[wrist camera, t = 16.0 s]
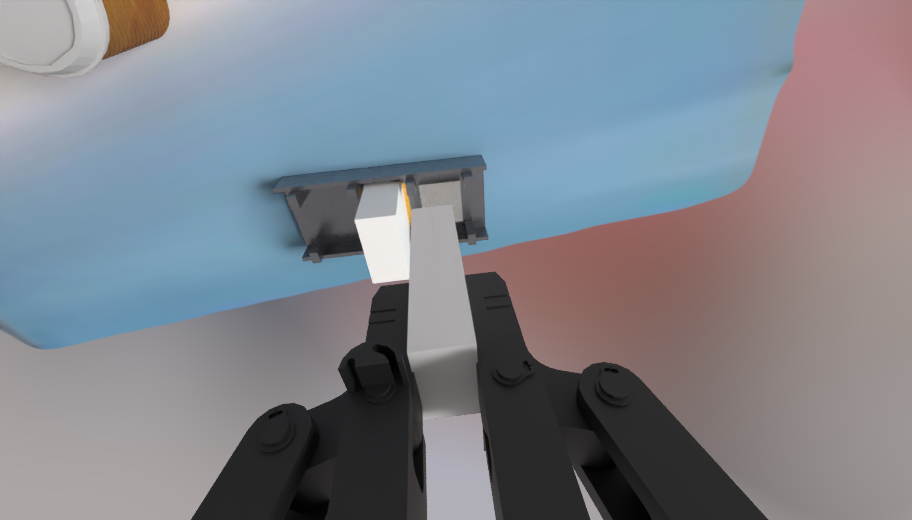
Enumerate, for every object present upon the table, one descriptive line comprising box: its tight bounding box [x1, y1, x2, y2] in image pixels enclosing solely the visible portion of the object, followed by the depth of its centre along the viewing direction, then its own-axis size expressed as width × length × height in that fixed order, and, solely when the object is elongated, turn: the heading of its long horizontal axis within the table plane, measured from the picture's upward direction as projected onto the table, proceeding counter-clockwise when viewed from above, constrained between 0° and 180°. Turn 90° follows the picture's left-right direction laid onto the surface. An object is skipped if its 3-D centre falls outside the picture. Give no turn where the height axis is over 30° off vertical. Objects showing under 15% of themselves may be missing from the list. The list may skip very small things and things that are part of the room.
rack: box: [273, 155, 488, 263], centre depth 42 cm, size 24×11×5 cm, turn 95°
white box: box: [354, 179, 411, 283], centre depth 39 cm, size 4×8×10 cm, turn 5°
